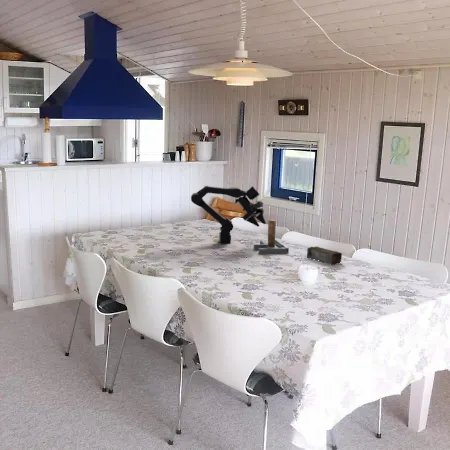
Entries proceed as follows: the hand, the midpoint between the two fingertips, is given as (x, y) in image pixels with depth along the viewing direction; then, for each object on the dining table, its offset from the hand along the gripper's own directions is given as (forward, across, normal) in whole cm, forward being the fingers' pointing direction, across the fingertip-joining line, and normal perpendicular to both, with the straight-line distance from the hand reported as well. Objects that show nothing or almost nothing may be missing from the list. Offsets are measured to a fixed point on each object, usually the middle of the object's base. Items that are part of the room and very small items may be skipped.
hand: (262, 224), depth 327 cm
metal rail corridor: (+14, -5, +4) cm, 16 cm away
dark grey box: (+40, -11, -21) cm, 46 cm away
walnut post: (+14, 0, +4) cm, 14 cm away
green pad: (+13, +1, +5) cm, 14 cm away
